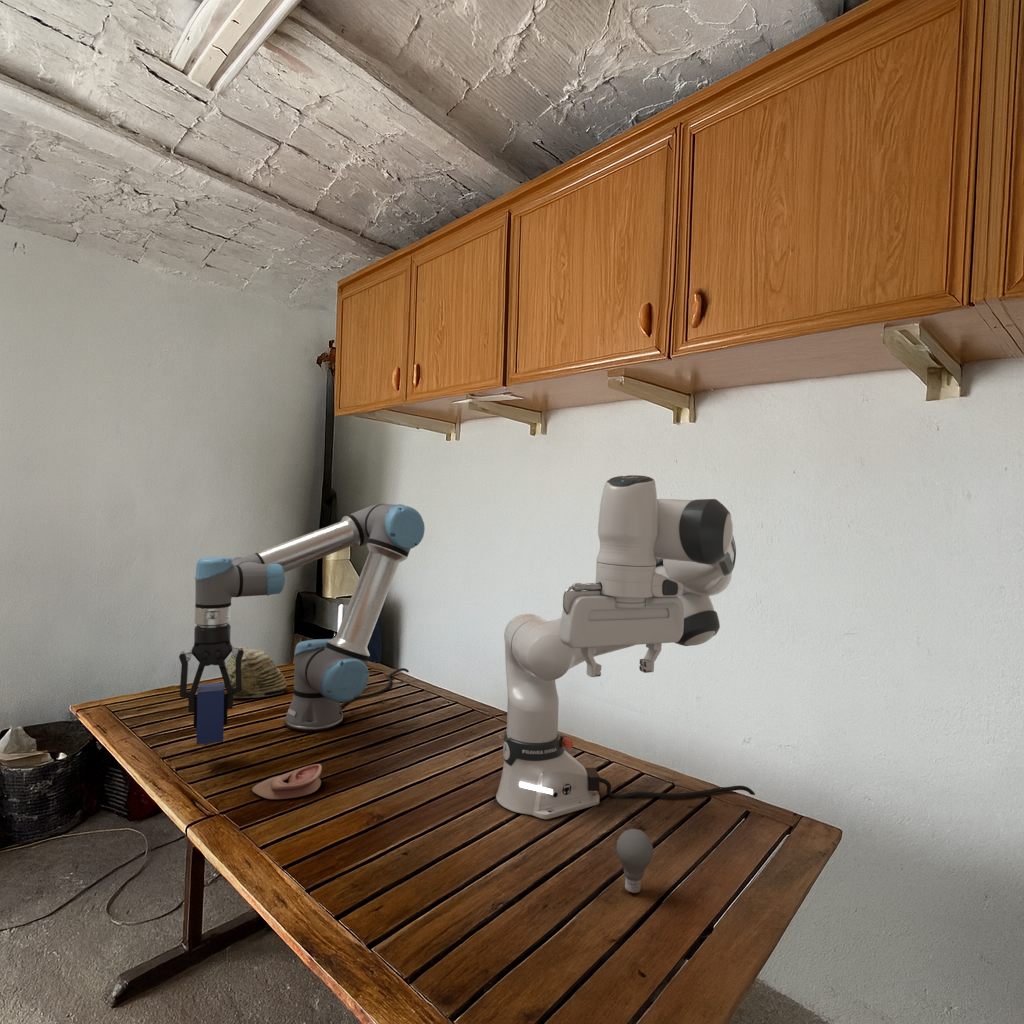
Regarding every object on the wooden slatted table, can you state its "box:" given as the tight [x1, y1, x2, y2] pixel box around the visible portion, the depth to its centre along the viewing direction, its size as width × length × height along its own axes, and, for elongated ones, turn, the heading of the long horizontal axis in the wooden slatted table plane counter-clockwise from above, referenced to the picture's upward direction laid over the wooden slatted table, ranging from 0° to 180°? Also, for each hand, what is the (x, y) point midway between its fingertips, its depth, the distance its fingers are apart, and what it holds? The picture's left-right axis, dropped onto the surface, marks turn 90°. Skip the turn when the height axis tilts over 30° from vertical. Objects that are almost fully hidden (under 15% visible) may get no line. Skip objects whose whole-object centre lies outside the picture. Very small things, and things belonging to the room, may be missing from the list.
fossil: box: [222, 646, 288, 699], centre depth 198 cm, size 9×18×15 cm, turn 132°
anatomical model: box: [251, 763, 323, 800], centre depth 137 cm, size 13×4×12 cm
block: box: [196, 681, 226, 746], centre depth 146 cm, size 6×6×12 cm
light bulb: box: [615, 828, 654, 894], centre depth 106 cm, size 6×6×10 cm
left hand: (210, 724), depth 146 cm, fingers closed on block, 5 cm apart
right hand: (620, 673), depth 96 cm, fingers open, 8 cm apart
